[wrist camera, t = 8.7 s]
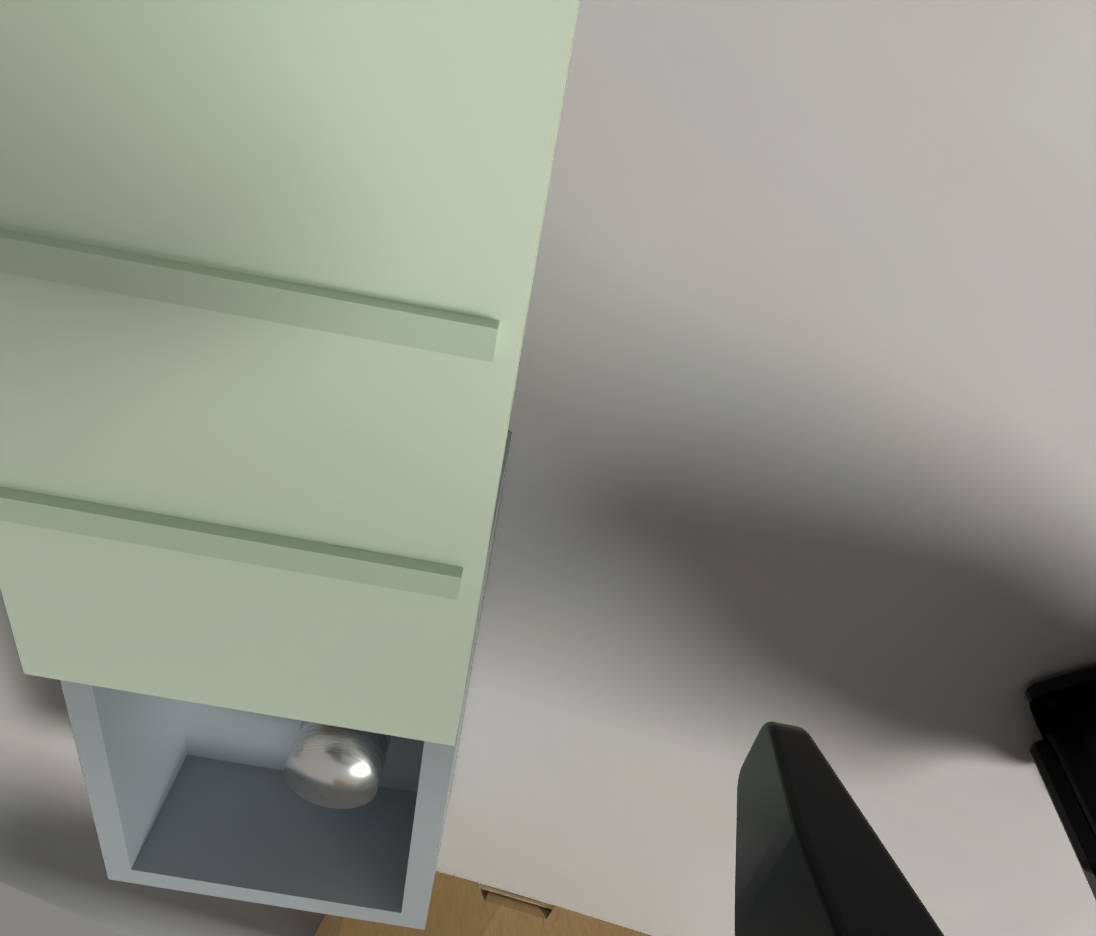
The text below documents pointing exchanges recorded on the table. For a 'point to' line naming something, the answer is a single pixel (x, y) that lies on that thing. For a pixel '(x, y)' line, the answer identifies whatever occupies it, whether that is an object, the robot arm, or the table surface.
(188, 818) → the tub
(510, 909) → the sandwich container
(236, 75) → the lid
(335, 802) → the metal peg
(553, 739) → the table surface
